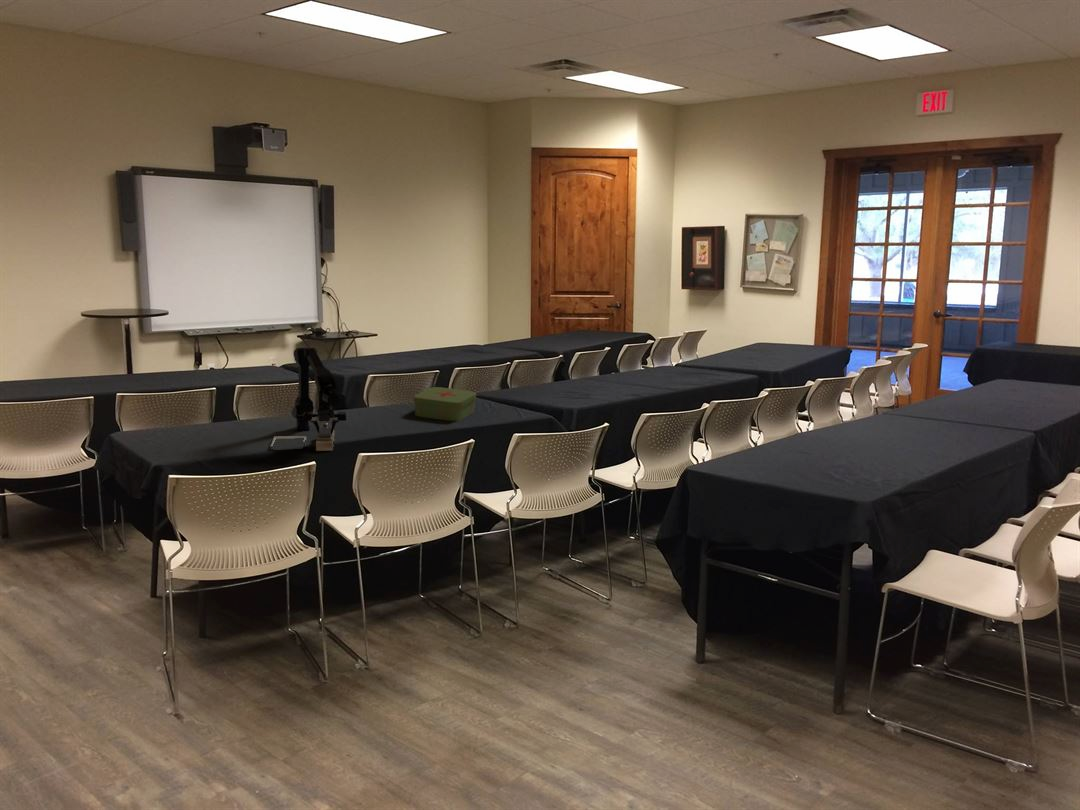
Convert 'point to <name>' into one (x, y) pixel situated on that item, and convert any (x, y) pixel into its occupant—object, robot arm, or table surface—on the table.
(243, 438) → the table surface
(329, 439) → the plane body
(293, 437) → the parts tray
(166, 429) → the table surface
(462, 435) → the table surface
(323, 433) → the dark grey block
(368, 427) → the table surface
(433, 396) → the first aid kit
